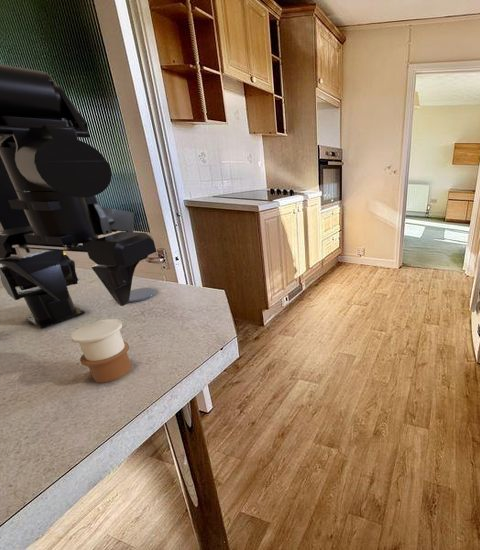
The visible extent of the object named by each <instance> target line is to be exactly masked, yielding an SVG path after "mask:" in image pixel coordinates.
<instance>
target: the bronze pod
mask: <svg viewBox="0 0 480 550" xmlns="http://www.w3.org/2000/svg"><path fill="white" fill-rule="evenodd" d="M123 341H124V340H123ZM124 344H125V347H124V349H123V350H122V351H121V352H119V353H118V354H116V355H114V356H112V357H109V358H107V359H103V360H98V361H89V360H87V359H86V358H85V356H84V353H83V354H82V355H81V356H80V358H79V362H80V364H81V365H83V366H84V367H88V369H89V372H90V374H91V376H92V379H93V381H94V382H96V383H99V384H100V383H101V384H105V383H109V382H113V381H116V380H118V379H120V378H123V377H124V376H125V375H127V374H128V373H129V372H130V371H131V369H132V367H133V365H132V363H131V360H130V356H129V355H128V351H129V350H130V344H129V343H128V342H127V341H124Z"/></svg>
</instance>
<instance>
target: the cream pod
mask: <svg viewBox="0 0 480 550" xmlns="http://www.w3.org/2000/svg"><path fill="white" fill-rule="evenodd" d="M122 327H123V323H122V321H121V320H120V319H116V318H107V319H100V320H96V321H92V322H90V323H87V324H85V325H82V326H80V327H79V328H76V329H75V330H73V332H72V333H71V334H70V339H71V341H72V342H74V343H77V344H79V346H80V349H81V351H82V353H83V354H84V356H85V358H86V359H87V360H89V361H98V360H103V359H107V358H109V357H112V356H114V355H116V354H118V353H119V352H121V351H122V350H123V349H124V347H125V344H124V339H123V336H122V333H121V329H122Z"/></svg>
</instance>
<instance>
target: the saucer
mask: <svg viewBox="0 0 480 550" xmlns="http://www.w3.org/2000/svg"><path fill="white" fill-rule="evenodd" d="M154 295H156V290H155V289H154V288H152V287H142V288H141V287H140V288H135V289H132V290H131V291H130V298H129V303H138V302H141V301H144V300H148V299H150V298H152V297H154Z"/></svg>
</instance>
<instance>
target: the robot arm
mask: <svg viewBox="0 0 480 550" xmlns="http://www.w3.org/2000/svg"><path fill="white" fill-rule="evenodd" d="M88 126H89V123H88V122H87V121H86V119H85V118H84V117H83V115H82V113H80V111H79V110H78V108H77V107H76V105H75V104H74V103H73V101H72V100H71V99H70V98H69V96H68V95H67V94H66V92H65V90H64V89H63V88H62V86H60V85H59V84H56V82H55V80H54V79H53V77H52V76H51V75H49V74H48V73H47V72H46V71H41V70H36V69H30V68H25V67H18V66H13V65H7V64H1V63H0V265H1V266H0V281H1V284H2V286H3V288H4V289H5V291H6V293H7V295H9V296H10V297H11V298H12V299H13V300H14V301H18V300H21V299H24V301H25V303H26V305H27V307H28V309H29V311H30V313H31V316H28V317H26V318H25V320H26V321H27V322H29V323H31V324H33V325H34V326H36V327H39V329H45V328H48V327H52V326H54V325H57V324H59V323H63V322H65V321H67V320H71V319H73V318H75V317H79V316H82V315H84V314H85V313H86V311H85V310H84V309H83V308H80V307H78V306H75V304H74V301H73V299H72V296H71V294H70V292H69V290H68V287H69V286H72V285H74V286H75V285H78V281H79V278H78V276H77V272H76V262H75V260H74V259H71V258H70V257H69V256H68V255H67V254H66V253H65V254H63V251H65V252H74V253H75V252H76V253H87V255H88V258H89V260H91V261H92V262H94V263H95V265H92V266H91V269H92V270H93V272H94V273H95V275H96V276H97V278H98V279H99V280H100V281H101V283H102V284H103V286H104V288H105V289H106V290H107V291H108V293H109V294H110V296H111V297H112V298H113V300H114V301H115V302H116V303H117V304H118V305H119V307H124V306H126V305H128V304H129V303H130V302H129V298H130V291H131V289H132V284H133V278H134V274H135V271H136V267H137V266H138V264H140V262H141V261H144V260H146V259H148V258H149V255H152V254H155V253H157V248H156V243H155V241H154V237H153V236H151V235H149V234H148V233H147V232H138V231H137V232H136V231H134V222H135V220H134V219H135V217H134V216H135V212H133V211H127V210H122V209H118V208H112V207H111V208H110V207H105V206H101V204H100V201H99V199H98V198H97V197H96V196H98V195H99V194H101V193H103V192H104V191H105V190H107V189H108V187H109V186H110V183H111V182H112V168H111V165H110V163H109V162H108V161H107V159H106V158H105V156H104V155H103V154H102V153H101V152H100V151H99V150H98V149H97V148H95V147H94V146H92V145H91V144H90V143H87V142H84V141H82V140H81V139H90V132H89V131H88ZM79 138H80V139H79ZM112 233H113V234H112ZM100 236H102V237H100Z"/></svg>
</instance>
